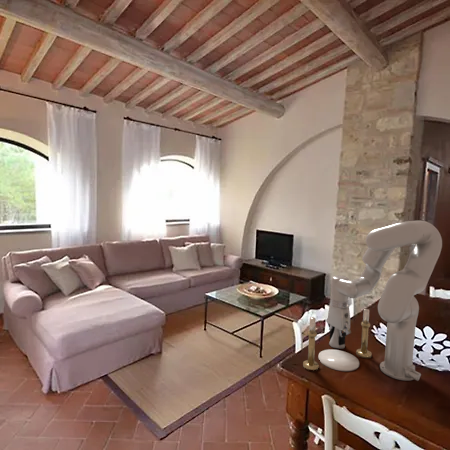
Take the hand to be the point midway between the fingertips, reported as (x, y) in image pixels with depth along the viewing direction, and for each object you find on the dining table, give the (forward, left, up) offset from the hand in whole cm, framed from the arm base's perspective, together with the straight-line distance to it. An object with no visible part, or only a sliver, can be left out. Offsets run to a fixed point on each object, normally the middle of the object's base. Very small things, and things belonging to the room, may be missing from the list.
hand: (337, 341), depth 145 cm
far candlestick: (-11, -5, -2) cm, 12 cm away
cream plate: (-11, +9, -2) cm, 14 cm away
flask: (0, 0, -2) cm, 2 cm away
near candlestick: (-11, +23, -2) cm, 26 cm away
